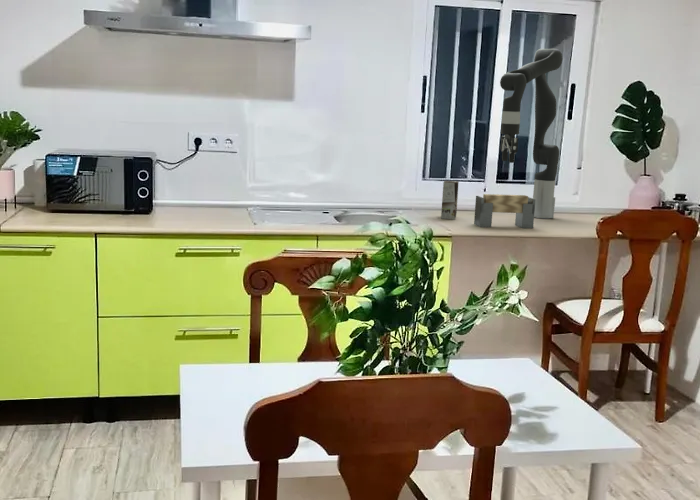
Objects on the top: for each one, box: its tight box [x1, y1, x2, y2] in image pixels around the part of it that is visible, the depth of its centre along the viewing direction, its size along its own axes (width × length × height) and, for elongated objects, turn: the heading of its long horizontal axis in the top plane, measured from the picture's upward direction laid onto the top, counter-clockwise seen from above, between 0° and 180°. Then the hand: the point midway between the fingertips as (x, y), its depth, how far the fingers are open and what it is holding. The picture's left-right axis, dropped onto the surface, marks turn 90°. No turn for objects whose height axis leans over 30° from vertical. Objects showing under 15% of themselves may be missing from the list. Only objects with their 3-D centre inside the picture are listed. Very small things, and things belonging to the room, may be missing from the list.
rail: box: [482, 193, 529, 214], centre depth 314 cm, size 18×4×7 cm, turn 97°
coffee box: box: [440, 180, 460, 220], centre depth 332 cm, size 9×6×16 cm
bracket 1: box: [473, 195, 493, 228], centre depth 313 cm, size 5×8×12 cm, turn 7°
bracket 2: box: [514, 196, 536, 229], centre depth 315 cm, size 5×8×12 cm, turn 7°
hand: (508, 161), depth 316 cm, fingers open, 8 cm apart
